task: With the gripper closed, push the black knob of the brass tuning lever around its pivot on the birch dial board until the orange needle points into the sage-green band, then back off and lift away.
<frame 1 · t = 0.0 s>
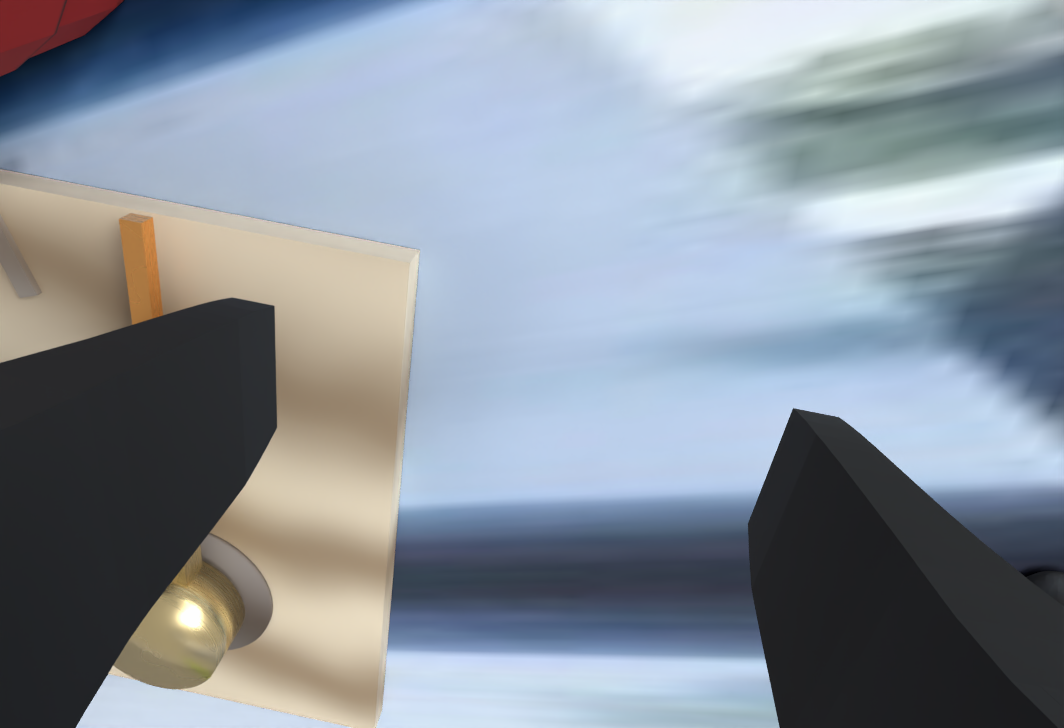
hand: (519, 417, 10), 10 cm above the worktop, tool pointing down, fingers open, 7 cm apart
dial board: (101, 463, 25), on the worktop
tuning lever: (115, 522, 21), point 4 cm above the worktop, hinge at 0.0°
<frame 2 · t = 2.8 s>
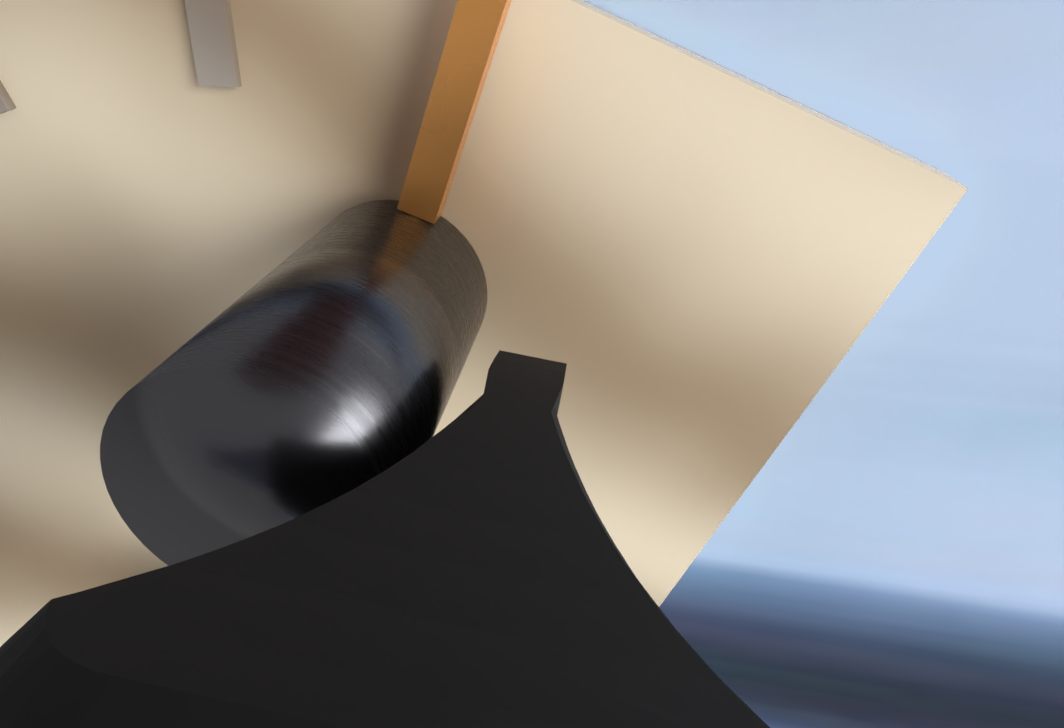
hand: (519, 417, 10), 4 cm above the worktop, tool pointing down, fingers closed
dial board: (208, 397, 16), on the worktop
tuning lever: (295, 526, 11), point 4 cm above the worktop, hinge at 1.8°, touching gripper
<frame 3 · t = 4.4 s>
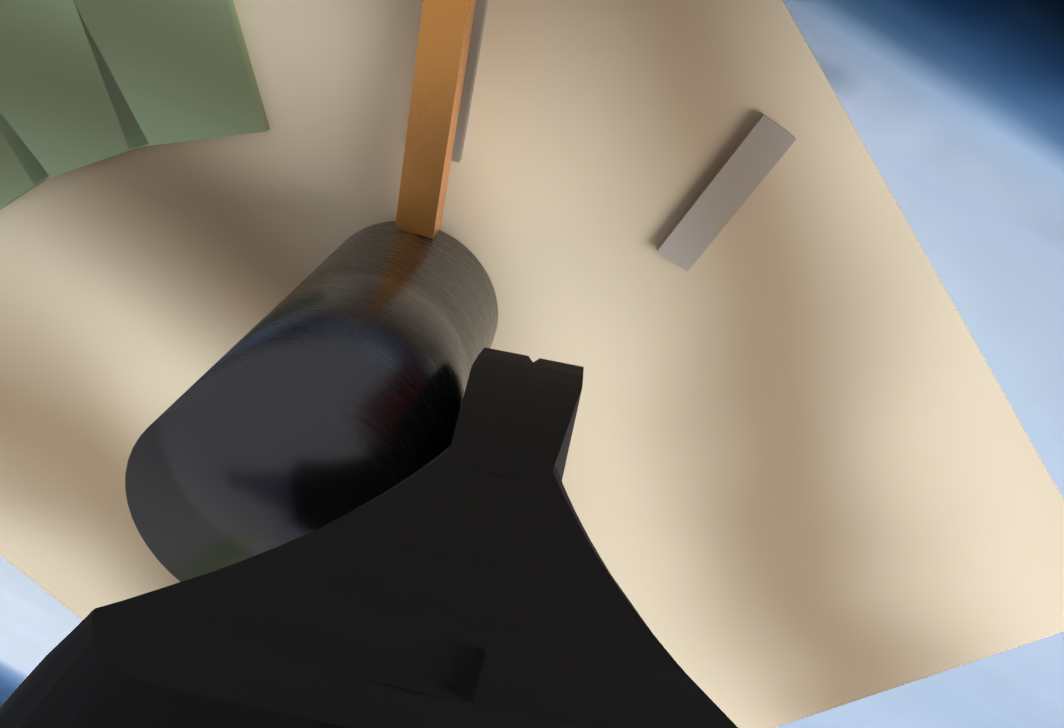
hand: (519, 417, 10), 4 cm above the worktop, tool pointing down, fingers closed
dial board: (403, 432, 15), on the worktop
tuning lever: (337, 552, 11), point 4 cm above the worktop, hinge at 40.4°, touching gripper
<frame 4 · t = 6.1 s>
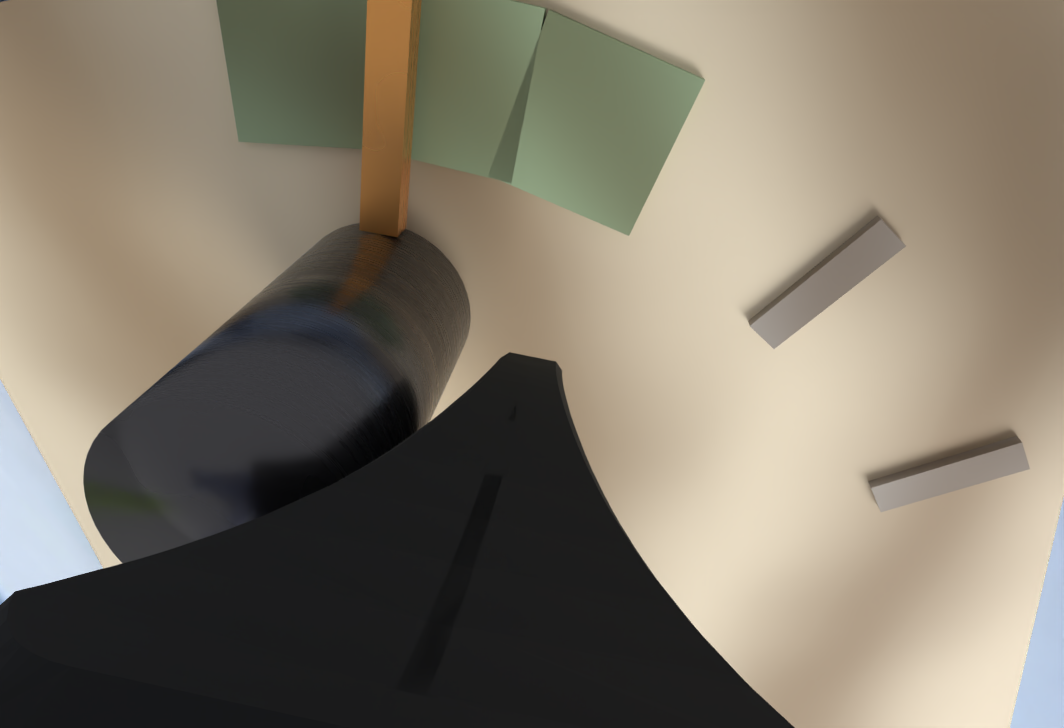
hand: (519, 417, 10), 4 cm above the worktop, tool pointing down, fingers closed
dial board: (521, 491, 16), on the worktop
tuning lever: (320, 554, 12), point 4 cm above the worktop, hinge at 73.1°, touching gripper
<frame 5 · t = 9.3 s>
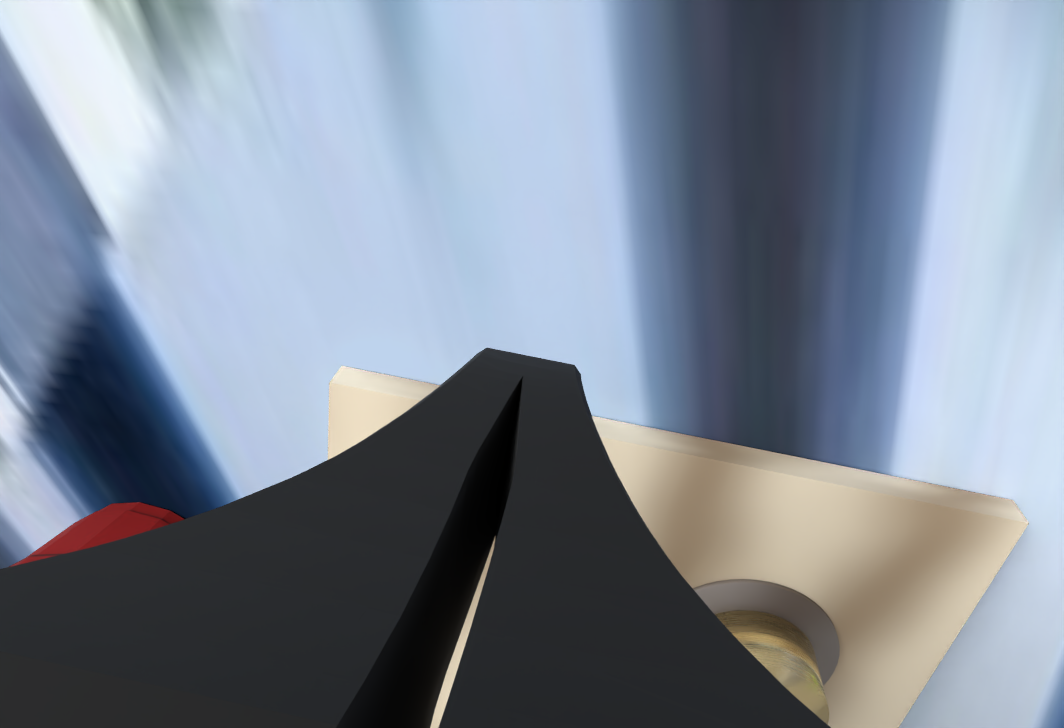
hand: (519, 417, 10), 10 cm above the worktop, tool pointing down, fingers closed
dial board: (601, 666, 27), on the worktop
plastic cup: (154, 557, 27), on the worktop
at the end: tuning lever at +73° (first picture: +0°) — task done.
